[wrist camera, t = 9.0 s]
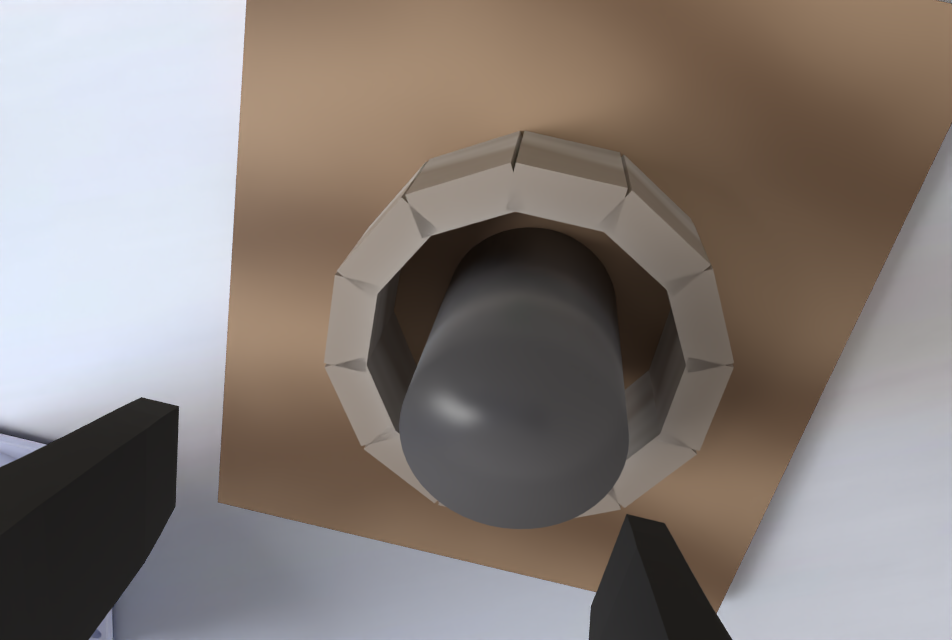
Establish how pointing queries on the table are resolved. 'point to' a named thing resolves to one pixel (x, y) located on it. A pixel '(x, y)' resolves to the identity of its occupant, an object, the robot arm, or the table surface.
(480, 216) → the lens collar
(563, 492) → the grey rounded cylinder
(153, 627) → the table surface
